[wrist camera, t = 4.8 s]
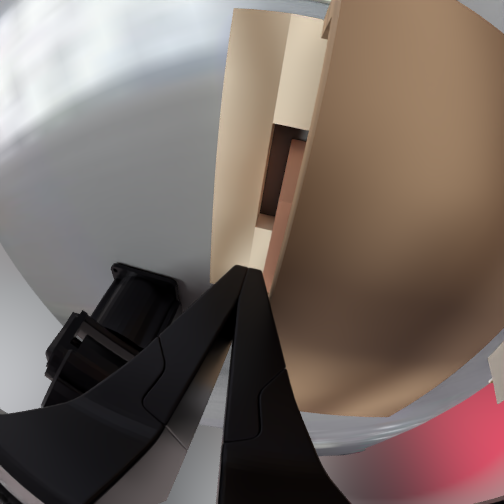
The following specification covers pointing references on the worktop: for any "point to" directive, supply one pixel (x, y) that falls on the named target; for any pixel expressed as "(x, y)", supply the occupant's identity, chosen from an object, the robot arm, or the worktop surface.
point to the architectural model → (497, 371)
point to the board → (258, 124)
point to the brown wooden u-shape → (395, 209)
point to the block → (283, 208)
